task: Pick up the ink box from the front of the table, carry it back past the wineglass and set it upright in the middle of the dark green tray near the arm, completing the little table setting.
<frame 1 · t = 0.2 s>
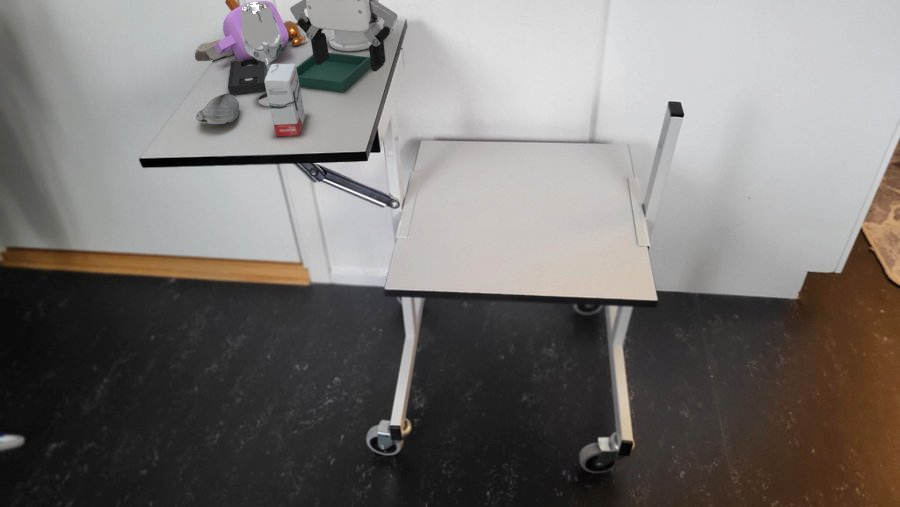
hand: (350, 64, 103), 22 cm above the table, tool pointing down, fingers open, 9 cm apart
figurine: (270, 43, 169), point 1 cm above the table
ink box: (291, 127, 135), on the table
stone: (224, 58, 166), on the table
tray: (330, 76, 153), on the table
seashell: (221, 121, 138), on the table
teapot: (264, 23, 154), point 10 cm above the table, touching vhs tape
vhs tape: (249, 80, 153), on the table, touching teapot
wineglass: (275, 100, 145), on the table
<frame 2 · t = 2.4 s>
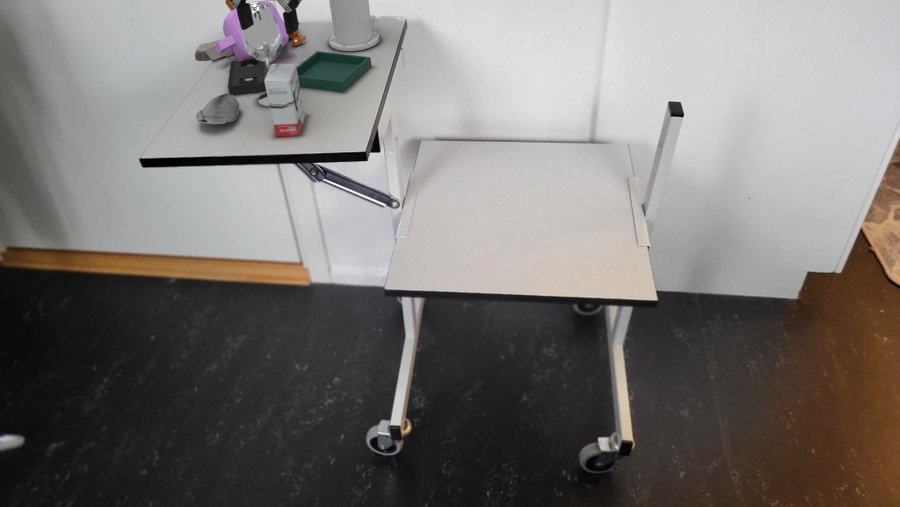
hand: (270, 29, 122), 20 cm above the table, tool pointing down, fingers open, 9 cm apart
nothing on the table moved.
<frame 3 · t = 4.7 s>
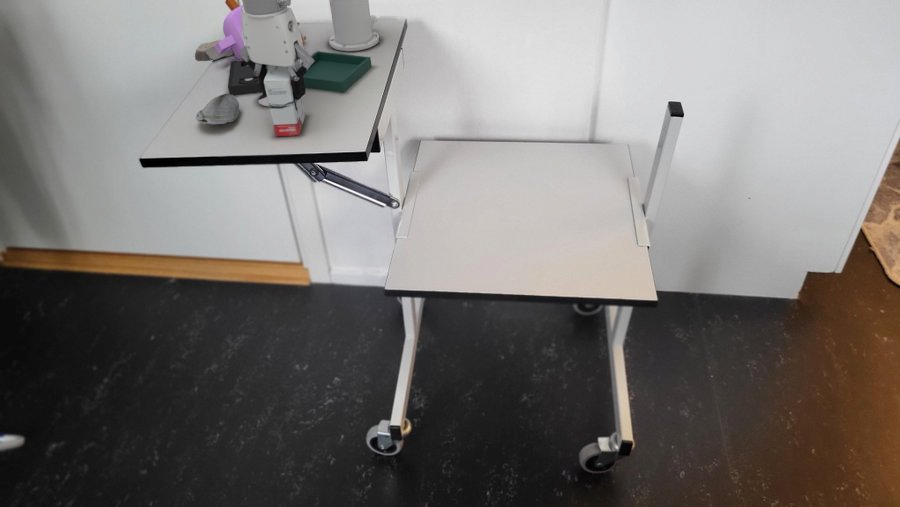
hand: (284, 94, 130), 7 cm above the table, tool pointing down, fingers closed on ink box, 6 cm apart
ink box: (291, 127, 135), on the table, touching gripper
everything else where it was.
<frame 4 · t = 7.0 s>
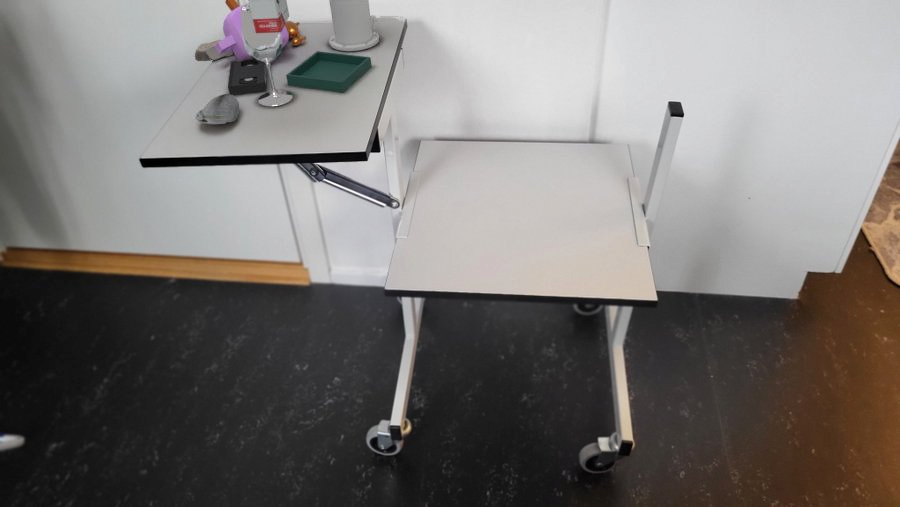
ink box: (273, 25, 124), point 20 cm above the table, touching gripper
everything else where it was.
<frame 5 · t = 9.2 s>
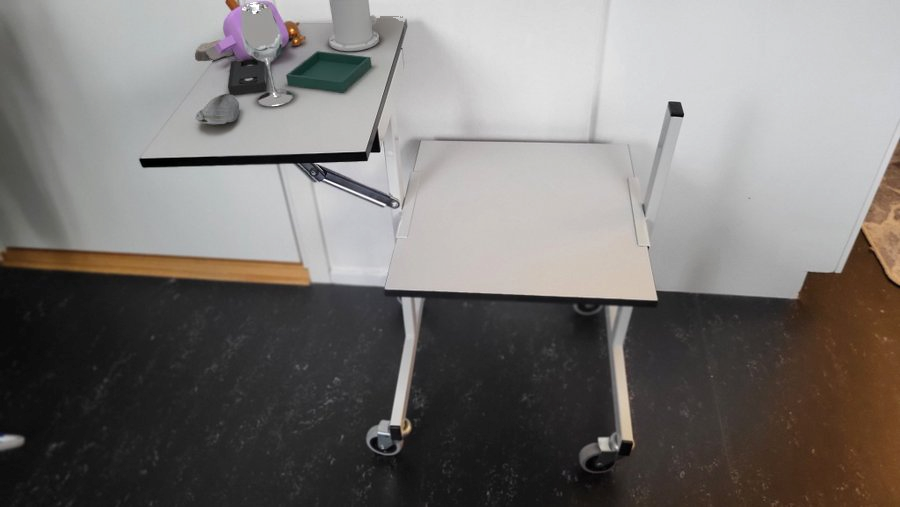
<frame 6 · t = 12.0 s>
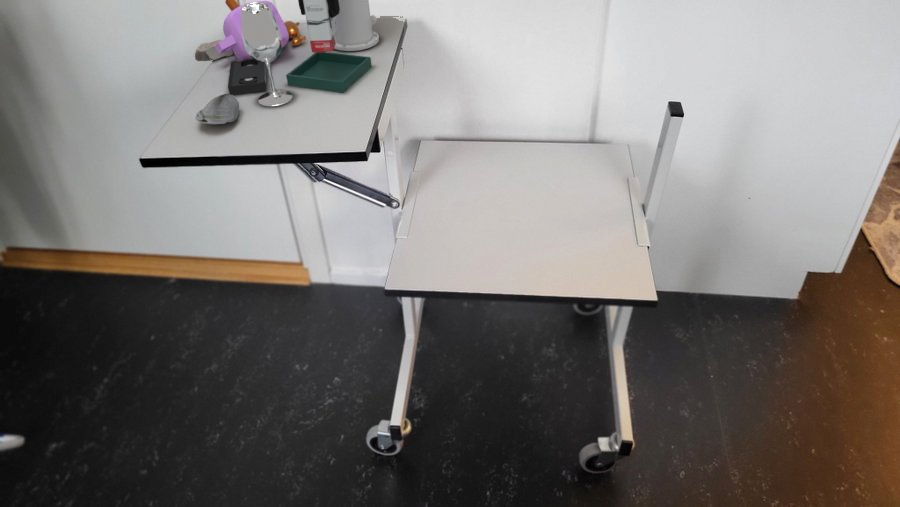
hand: (320, 13, 144), 14 cm above the table, tool pointing down, fingers closed on ink box, 6 cm apart
ink box: (325, 46, 149), point 7 cm above the table, touching gripper
everything else where it was.
when the fingers open (8 cm above the table, at t = 14.2 s): ink box stays where it is, resting on tray.
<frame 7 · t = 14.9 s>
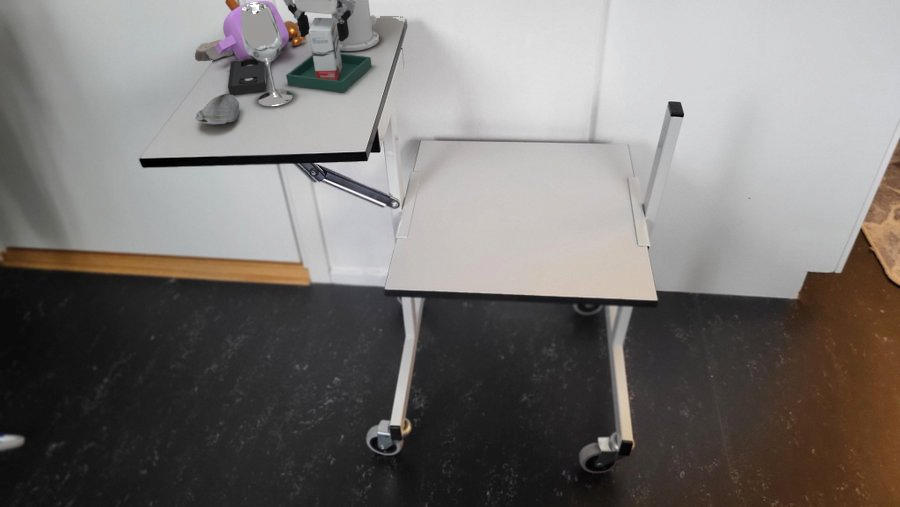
hand: (324, 37, 148), 9 cm above the table, tool pointing down, fingers open, 9 cm apart
ink box: (330, 75, 153), resting on tray
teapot: (265, 23, 154), point 10 cm above the table
vhs tape: (249, 80, 153), on the table
everything else where it was.
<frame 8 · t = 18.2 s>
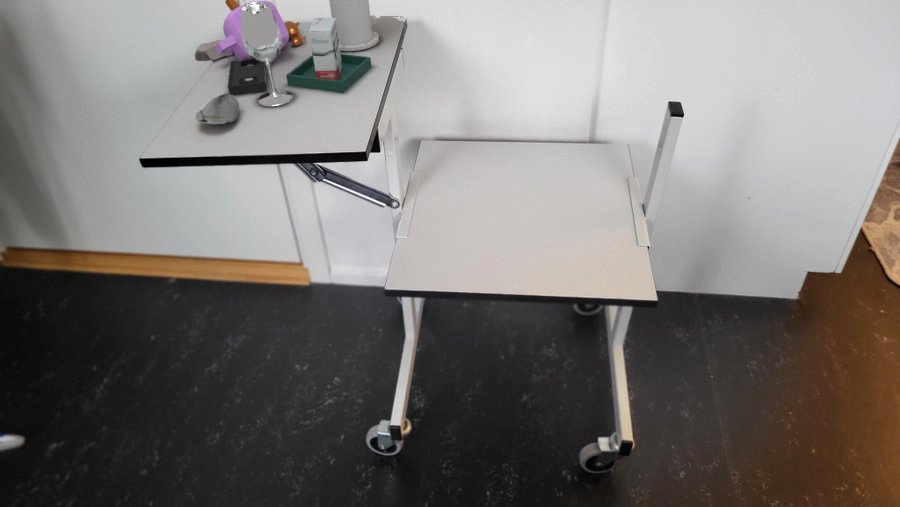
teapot: (265, 23, 154), point 10 cm above the table, touching vhs tape
vhs tape: (249, 80, 153), on the table, touching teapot
everything else where it was.
at the end: ink box inside the target area in the tray (0.2 cm from its centre), point 0.3 cm above the tray's base; ink box tilted 0°; the gripper is holding nothing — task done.
